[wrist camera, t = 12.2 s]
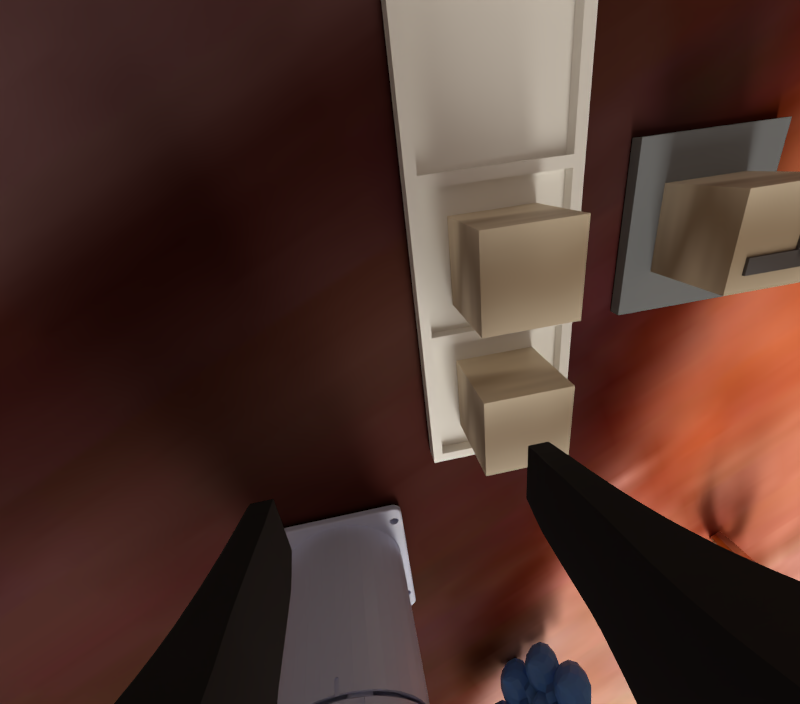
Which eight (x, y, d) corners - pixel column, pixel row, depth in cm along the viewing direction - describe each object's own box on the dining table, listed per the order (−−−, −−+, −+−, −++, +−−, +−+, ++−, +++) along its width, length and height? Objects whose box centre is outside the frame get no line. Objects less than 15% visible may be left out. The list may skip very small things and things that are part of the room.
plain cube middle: (533, 290, 19) (580, 320, 15) (452, 304, 19) (482, 338, 15) (536, 202, 17) (590, 213, 14) (447, 216, 17) (478, 230, 13)
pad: (732, 289, 21) (742, 292, 21) (610, 311, 21) (618, 315, 20) (777, 118, 18) (791, 116, 17) (632, 138, 17) (642, 137, 17)
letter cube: (727, 258, 20) (818, 280, 16) (650, 271, 19) (726, 297, 16) (748, 170, 18) (857, 172, 14) (665, 182, 18) (754, 188, 14)
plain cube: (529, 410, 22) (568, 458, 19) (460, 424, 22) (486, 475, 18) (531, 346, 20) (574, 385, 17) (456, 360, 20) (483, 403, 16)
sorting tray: (553, 425, 23) (562, 436, 22) (430, 450, 23) (434, 462, 22) (587, -71, 14) (605, -87, 13) (375, -53, 13) (378, -68, 12)
